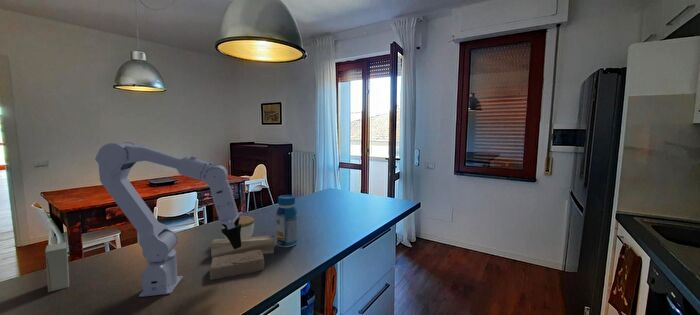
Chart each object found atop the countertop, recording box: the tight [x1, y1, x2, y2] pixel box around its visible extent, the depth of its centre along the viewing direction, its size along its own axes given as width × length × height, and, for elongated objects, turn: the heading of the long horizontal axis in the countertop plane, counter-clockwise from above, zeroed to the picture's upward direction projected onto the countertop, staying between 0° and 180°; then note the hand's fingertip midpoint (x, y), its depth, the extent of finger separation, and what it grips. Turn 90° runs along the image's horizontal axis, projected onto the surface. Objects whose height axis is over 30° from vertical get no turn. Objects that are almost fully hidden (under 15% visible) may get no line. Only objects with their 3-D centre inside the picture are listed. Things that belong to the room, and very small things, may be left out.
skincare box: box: [45, 241, 70, 293], centre depth 82 cm, size 6×4×12 cm
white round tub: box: [221, 215, 255, 239], centre depth 117 cm, size 13×13×11 cm
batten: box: [210, 235, 275, 259], centre depth 106 cm, size 4×22×6 cm, turn 102°
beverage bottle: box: [275, 194, 298, 248], centre depth 114 cm, size 8×8×20 cm
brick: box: [209, 250, 265, 280], centre depth 93 cm, size 17×8×5 cm, turn 114°
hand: (237, 243), depth 88 cm, fingers open, 7 cm apart
